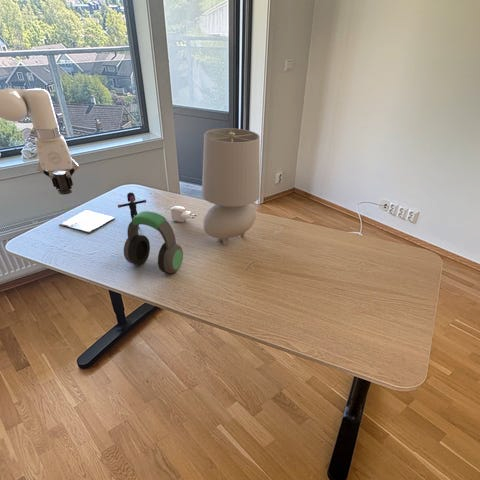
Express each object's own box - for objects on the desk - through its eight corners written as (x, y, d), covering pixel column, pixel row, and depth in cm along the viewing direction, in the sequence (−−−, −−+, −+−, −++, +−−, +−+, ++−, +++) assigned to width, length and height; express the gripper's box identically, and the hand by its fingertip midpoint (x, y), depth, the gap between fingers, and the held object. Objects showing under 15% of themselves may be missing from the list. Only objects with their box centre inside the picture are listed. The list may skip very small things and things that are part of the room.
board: (89, 233, 142) (88, 232, 141) (59, 225, 146) (59, 223, 146) (114, 218, 153) (114, 217, 152) (86, 211, 157) (86, 209, 157)
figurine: (124, 232, 144) (117, 197, 134) (121, 228, 146) (113, 193, 136) (151, 226, 149) (146, 191, 139) (148, 222, 151) (143, 188, 141)
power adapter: (198, 221, 154) (197, 209, 150) (193, 226, 151) (192, 213, 147) (175, 217, 157) (174, 204, 153) (170, 221, 153) (169, 208, 149)
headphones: (185, 265, 127) (182, 213, 114) (171, 280, 119) (165, 227, 106) (141, 254, 131) (132, 203, 118) (124, 268, 124) (113, 215, 110)
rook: (58, 195, 126) (52, 175, 122) (58, 190, 130) (52, 171, 125) (72, 193, 128) (66, 174, 123) (72, 189, 131) (67, 170, 126)
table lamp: (239, 223, 154) (244, 123, 128) (268, 244, 141) (279, 137, 114) (193, 235, 144) (188, 128, 118) (219, 259, 131) (219, 145, 105)
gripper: (19, 137, 111) (38, 194, 123) (74, 134, 115) (88, 189, 128) (21, 131, 116) (40, 186, 128) (74, 129, 121) (87, 182, 133)
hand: (64, 187), depth 128 cm, fingers closed on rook, 3 cm apart
